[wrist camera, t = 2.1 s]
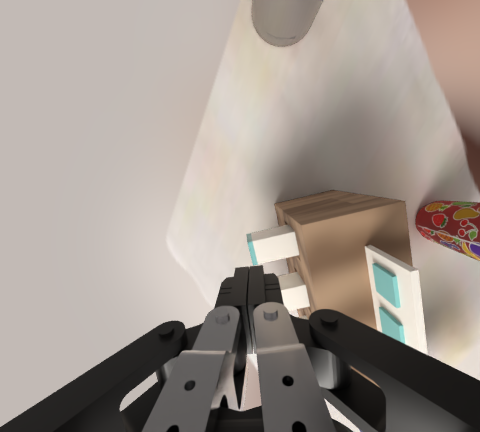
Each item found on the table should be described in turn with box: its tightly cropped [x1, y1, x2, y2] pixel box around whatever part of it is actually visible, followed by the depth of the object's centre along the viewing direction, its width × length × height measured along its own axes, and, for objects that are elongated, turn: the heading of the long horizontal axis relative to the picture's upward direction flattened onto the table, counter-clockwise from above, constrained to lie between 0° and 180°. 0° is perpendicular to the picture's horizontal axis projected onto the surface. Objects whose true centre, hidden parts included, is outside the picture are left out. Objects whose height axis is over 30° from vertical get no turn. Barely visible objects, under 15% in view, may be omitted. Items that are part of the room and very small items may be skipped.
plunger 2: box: [277, 272, 310, 311], centre depth 31 cm, size 3×8×4 cm, turn 104°
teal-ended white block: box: [247, 225, 299, 266], centre depth 29 cm, size 3×8×4 cm, turn 103°
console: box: [274, 190, 413, 387], centre depth 32 cm, size 21×10×17 cm, turn 14°
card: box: [365, 245, 428, 355], centre depth 20 cm, size 14×1×6 cm, turn 14°
